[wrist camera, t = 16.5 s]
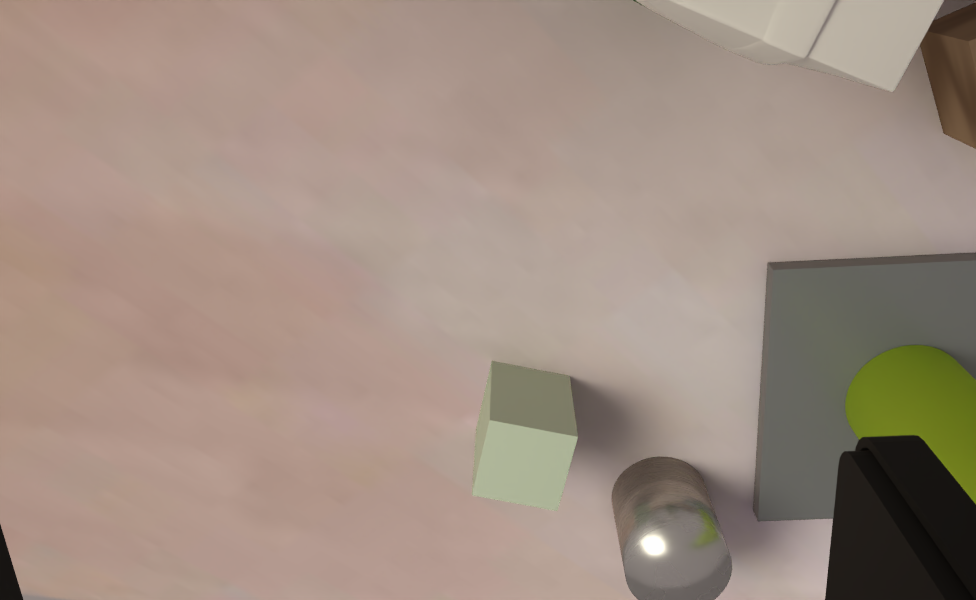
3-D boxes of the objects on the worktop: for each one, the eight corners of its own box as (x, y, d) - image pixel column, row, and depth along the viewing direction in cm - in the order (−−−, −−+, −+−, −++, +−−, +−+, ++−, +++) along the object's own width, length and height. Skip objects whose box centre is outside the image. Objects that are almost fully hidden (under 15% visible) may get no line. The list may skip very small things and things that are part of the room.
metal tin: (611, 458, 48) (624, 527, 43) (707, 454, 48) (734, 523, 42) (612, 538, 50) (625, 614, 44) (704, 534, 50) (729, 610, 44)
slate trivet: (767, 262, 44) (773, 269, 43) (1068, 248, 43) (1080, 255, 42) (753, 510, 49) (757, 521, 48) (1021, 500, 49) (1031, 511, 48)
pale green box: (491, 360, 46) (489, 420, 41) (569, 375, 46) (578, 437, 41) (476, 429, 48) (471, 495, 42) (551, 443, 48) (557, 511, 42)
